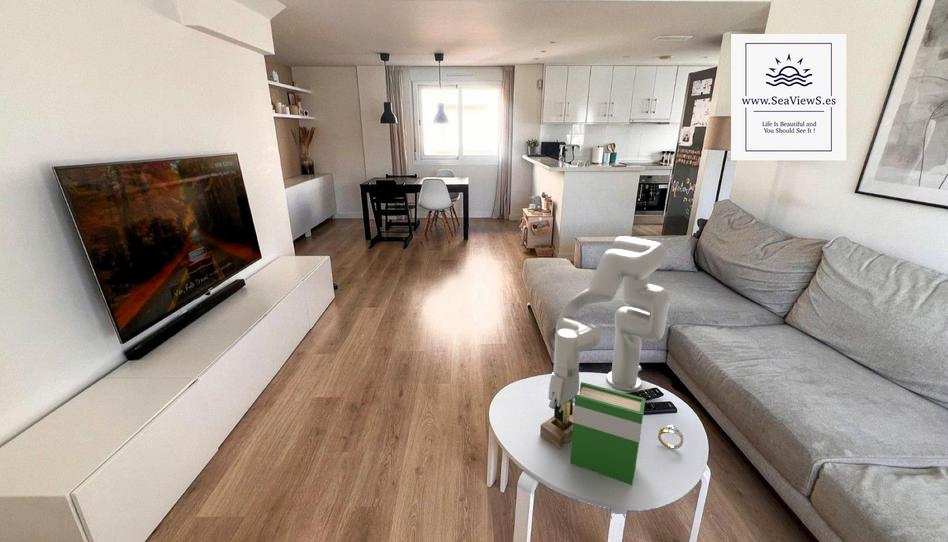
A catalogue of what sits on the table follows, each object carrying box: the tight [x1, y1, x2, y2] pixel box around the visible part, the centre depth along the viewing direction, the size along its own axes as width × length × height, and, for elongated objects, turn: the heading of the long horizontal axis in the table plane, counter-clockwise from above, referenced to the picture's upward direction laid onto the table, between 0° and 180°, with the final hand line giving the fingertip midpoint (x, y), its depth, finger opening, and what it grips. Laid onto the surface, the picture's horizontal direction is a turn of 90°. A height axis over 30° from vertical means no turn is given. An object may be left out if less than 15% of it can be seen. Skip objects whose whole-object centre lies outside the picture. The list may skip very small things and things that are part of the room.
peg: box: [556, 400, 570, 431], centre depth 129 cm, size 4×4×12 cm
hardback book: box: [569, 381, 646, 486], centre depth 114 cm, size 18×7×24 cm, turn 63°
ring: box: [657, 424, 685, 450], centre depth 123 cm, size 7×3×8 cm, turn 57°
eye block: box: [539, 404, 574, 450], centre depth 132 cm, size 16×8×4 cm, turn 130°
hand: (563, 415), depth 129 cm, fingers closed on peg, 4 cm apart
